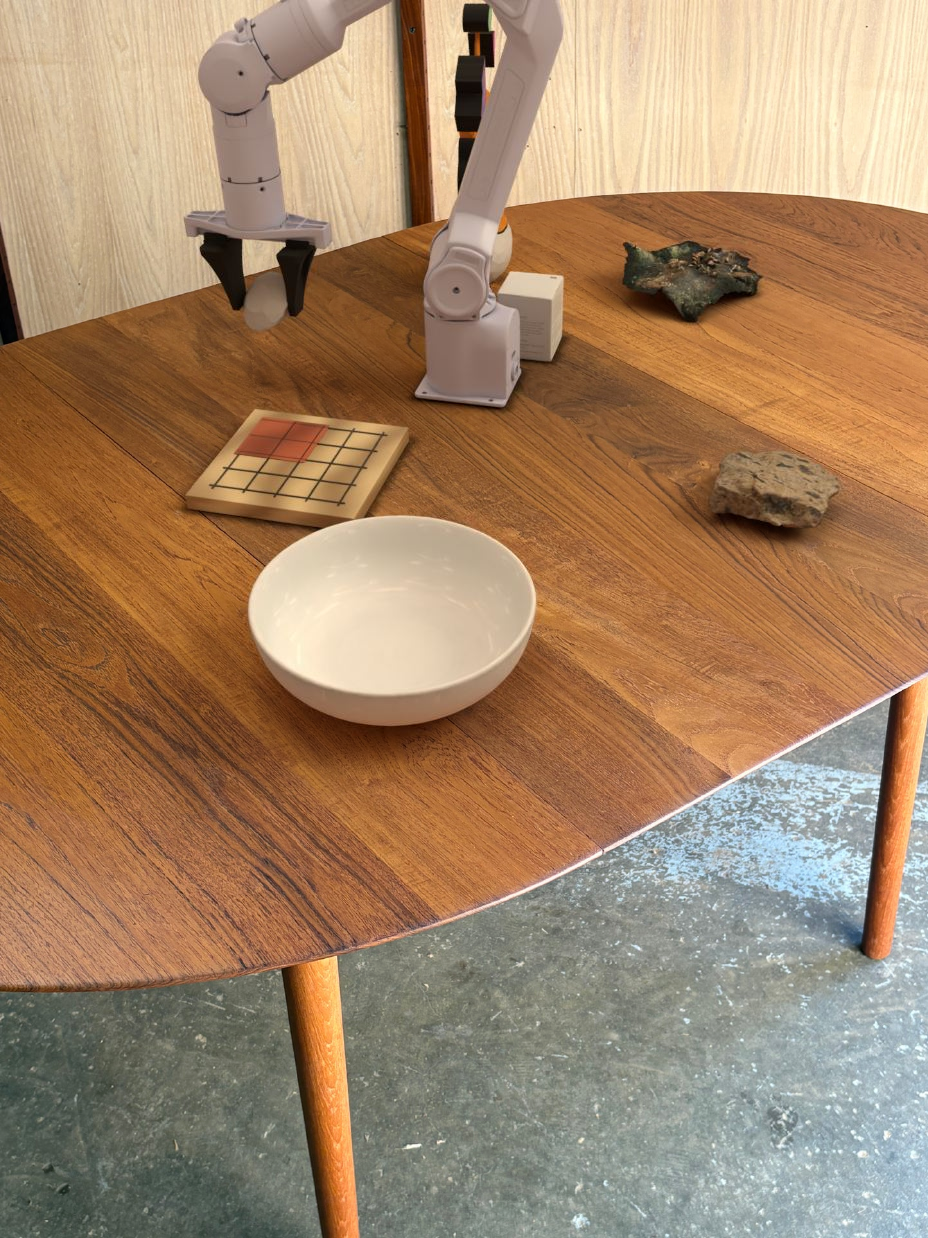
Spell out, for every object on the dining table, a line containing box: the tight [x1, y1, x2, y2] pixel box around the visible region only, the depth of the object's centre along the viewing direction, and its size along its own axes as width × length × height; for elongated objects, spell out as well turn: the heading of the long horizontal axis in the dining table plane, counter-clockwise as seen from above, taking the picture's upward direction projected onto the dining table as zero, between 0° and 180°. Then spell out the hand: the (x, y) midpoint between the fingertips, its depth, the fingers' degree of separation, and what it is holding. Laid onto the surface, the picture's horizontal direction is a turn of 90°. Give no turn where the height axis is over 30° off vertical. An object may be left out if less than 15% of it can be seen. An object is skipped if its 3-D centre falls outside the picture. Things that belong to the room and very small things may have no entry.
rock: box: [707, 450, 843, 530], centre depth 107 cm, size 11×11×4 cm
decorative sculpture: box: [453, 2, 513, 284], centre depth 138 cm, size 20×8×30 cm, turn 174°
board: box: [184, 408, 410, 529], centre depth 114 cm, size 16×16×2 cm
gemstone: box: [242, 271, 290, 333], centre depth 123 cm, size 6×6×5 cm
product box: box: [496, 271, 565, 362], centre depth 131 cm, size 6×6×7 cm
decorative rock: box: [621, 240, 764, 322], centre depth 144 cm, size 19×6×15 cm
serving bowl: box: [247, 515, 537, 727], centre depth 90 cm, size 21×21×7 cm
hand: (268, 309), depth 123 cm, fingers closed on gemstone, 5 cm apart
